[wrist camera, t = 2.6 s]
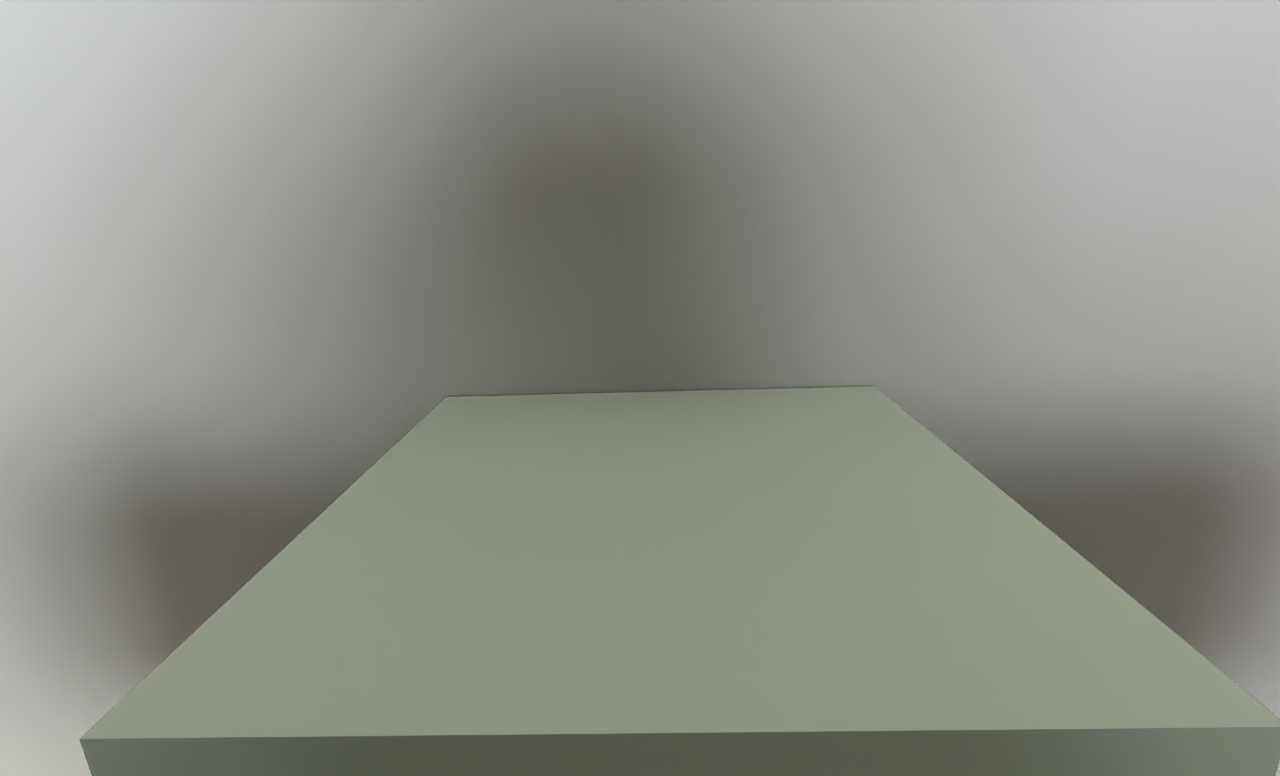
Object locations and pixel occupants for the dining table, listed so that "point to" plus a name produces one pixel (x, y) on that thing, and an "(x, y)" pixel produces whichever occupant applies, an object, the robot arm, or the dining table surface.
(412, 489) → the sage block
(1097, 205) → the dining table surface
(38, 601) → the dining table surface
